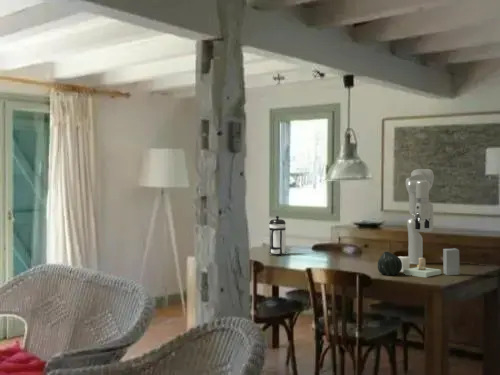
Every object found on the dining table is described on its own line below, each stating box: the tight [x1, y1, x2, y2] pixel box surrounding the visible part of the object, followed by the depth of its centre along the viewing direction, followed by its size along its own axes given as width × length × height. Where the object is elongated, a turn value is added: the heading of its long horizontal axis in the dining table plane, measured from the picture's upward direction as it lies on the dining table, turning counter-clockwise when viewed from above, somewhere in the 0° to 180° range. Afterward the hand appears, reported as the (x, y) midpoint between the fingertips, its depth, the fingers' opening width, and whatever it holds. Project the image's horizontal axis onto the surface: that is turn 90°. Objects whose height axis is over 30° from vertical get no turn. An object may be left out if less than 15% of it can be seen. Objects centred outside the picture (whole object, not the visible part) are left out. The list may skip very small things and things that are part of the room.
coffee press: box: [268, 215, 287, 256], centre depth 486 cm, size 17×16×30 cm
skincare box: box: [442, 247, 460, 276], centre depth 390 cm, size 8×7×16 cm
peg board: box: [403, 266, 442, 278], centre depth 390 cm, size 16×16×3 cm
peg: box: [418, 257, 426, 271], centre depth 391 cm, size 4×4×10 cm
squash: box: [377, 251, 402, 276], centre depth 392 cm, size 14×15×15 cm
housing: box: [397, 255, 411, 273], centre depth 403 cm, size 7×7×9 cm
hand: (422, 228), depth 390 cm, fingers open, 9 cm apart
